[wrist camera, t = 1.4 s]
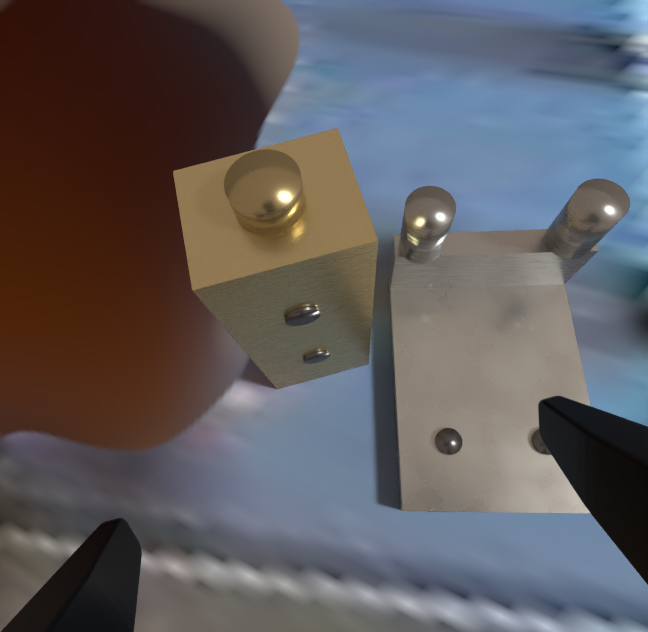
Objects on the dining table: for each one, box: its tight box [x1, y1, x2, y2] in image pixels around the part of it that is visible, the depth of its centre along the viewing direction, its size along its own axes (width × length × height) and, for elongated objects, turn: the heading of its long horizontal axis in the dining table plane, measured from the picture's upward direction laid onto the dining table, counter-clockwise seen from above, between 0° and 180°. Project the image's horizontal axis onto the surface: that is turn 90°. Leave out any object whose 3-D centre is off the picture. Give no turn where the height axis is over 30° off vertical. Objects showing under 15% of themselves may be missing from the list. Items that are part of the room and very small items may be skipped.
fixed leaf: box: [388, 179, 630, 513], centre depth 19 cm, size 12×9×8 cm
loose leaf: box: [173, 128, 378, 389], centre depth 17 cm, size 4×5×14 cm
